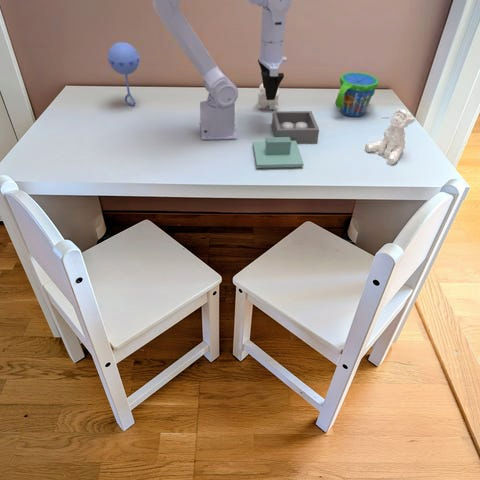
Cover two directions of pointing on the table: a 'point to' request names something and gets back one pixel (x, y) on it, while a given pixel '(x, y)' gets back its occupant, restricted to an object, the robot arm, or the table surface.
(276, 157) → the lid
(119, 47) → the baby rattle
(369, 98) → the snack cup
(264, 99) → the white lumpy piece
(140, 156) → the table surface
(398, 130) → the sitting furry creature
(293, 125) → the storage box
